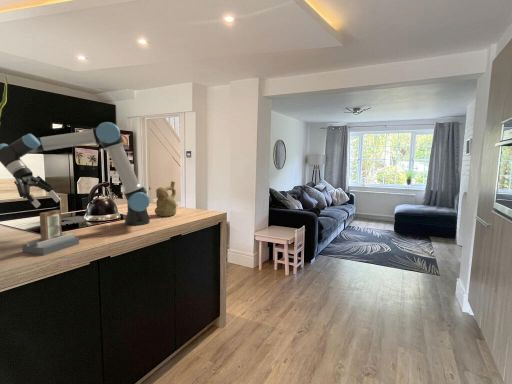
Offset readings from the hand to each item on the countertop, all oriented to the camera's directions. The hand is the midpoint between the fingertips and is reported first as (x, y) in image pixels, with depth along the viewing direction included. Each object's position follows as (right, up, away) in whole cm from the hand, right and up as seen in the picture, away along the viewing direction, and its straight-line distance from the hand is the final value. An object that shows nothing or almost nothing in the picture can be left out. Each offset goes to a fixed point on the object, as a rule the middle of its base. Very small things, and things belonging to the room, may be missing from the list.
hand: (49, 203), depth 149 cm
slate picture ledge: (+12, -20, -14) cm, 27 cm away
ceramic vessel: (+40, -12, +69) cm, 80 cm away
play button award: (-15, -14, +40) cm, 45 cm away
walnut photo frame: (+12, -17, -15) cm, 25 cm away
